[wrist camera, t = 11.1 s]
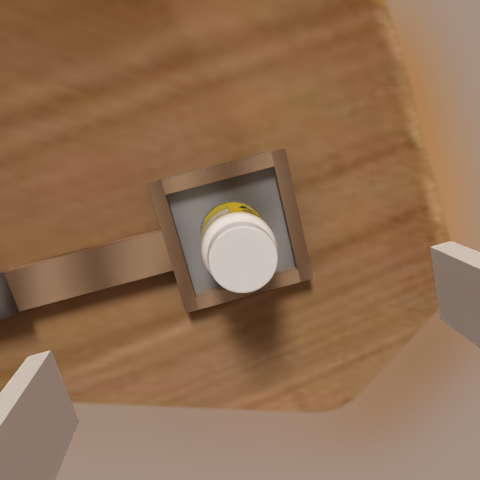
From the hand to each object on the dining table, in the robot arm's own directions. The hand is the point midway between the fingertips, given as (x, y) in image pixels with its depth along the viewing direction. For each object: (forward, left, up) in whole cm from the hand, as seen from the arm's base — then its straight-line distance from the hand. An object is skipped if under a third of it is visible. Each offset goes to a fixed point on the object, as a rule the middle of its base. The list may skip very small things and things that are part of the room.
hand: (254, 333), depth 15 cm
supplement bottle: (+1, 0, -19) cm, 19 cm away
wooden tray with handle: (-7, -1, -19) cm, 20 cm away
